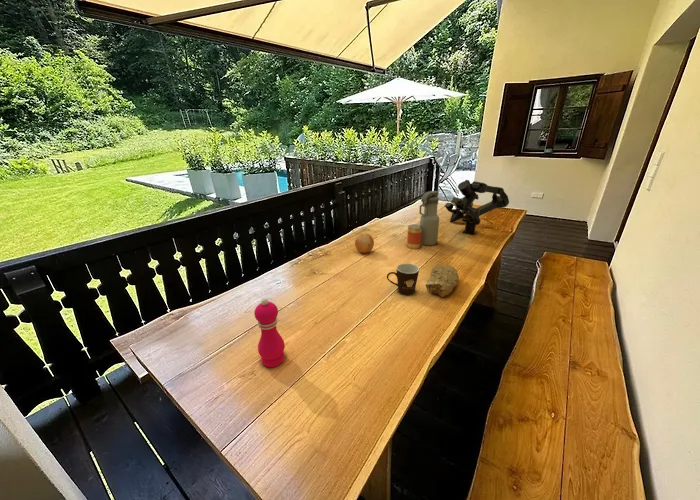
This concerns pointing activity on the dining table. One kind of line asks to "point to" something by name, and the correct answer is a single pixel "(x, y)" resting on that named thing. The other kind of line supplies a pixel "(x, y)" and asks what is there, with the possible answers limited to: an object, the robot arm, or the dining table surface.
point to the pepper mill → (269, 334)
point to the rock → (442, 279)
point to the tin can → (414, 236)
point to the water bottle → (429, 218)
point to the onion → (364, 243)
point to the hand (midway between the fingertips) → (450, 222)
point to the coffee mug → (406, 278)
